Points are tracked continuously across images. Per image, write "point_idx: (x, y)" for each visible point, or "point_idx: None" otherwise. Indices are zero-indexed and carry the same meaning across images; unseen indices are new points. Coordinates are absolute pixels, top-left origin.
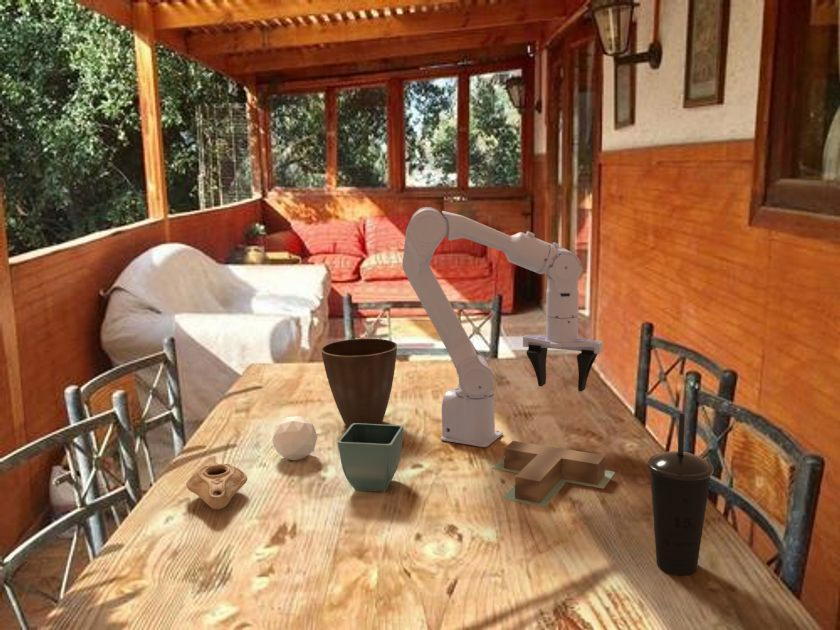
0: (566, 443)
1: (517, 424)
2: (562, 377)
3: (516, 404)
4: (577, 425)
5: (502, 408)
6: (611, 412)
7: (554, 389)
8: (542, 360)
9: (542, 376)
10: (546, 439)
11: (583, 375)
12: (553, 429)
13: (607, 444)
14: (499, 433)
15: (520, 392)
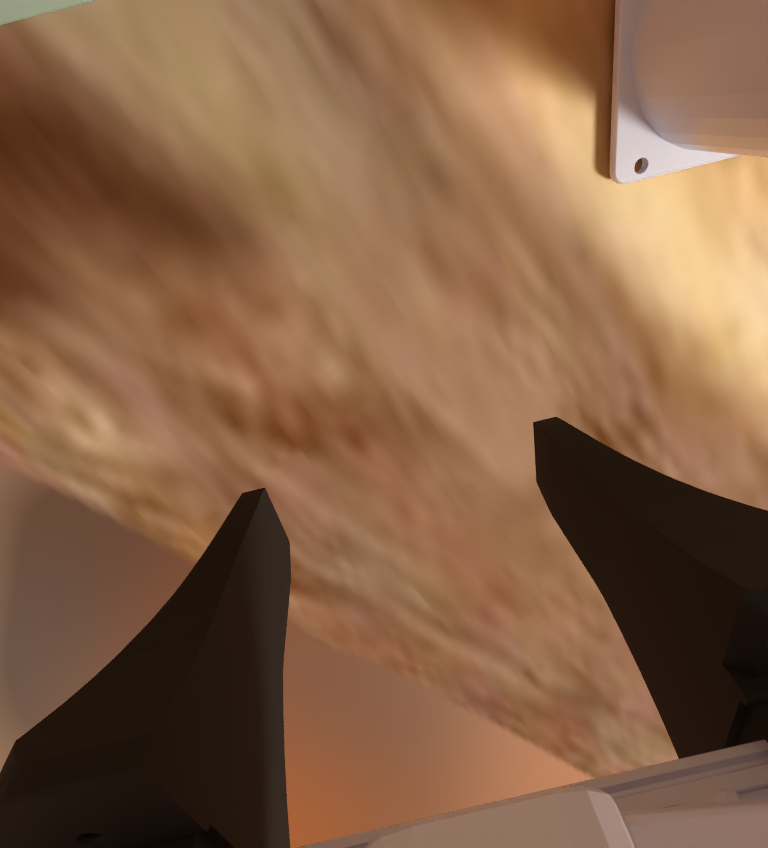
0: (299, 277)
1: (595, 339)
2: (616, 712)
3: None
4: (381, 468)
5: (712, 443)
6: (355, 610)
7: (602, 648)
8: (643, 597)
9: (566, 482)
10: (400, 263)
11: (186, 583)
12: (437, 382)
13: (160, 377)
14: (623, 144)
15: None
